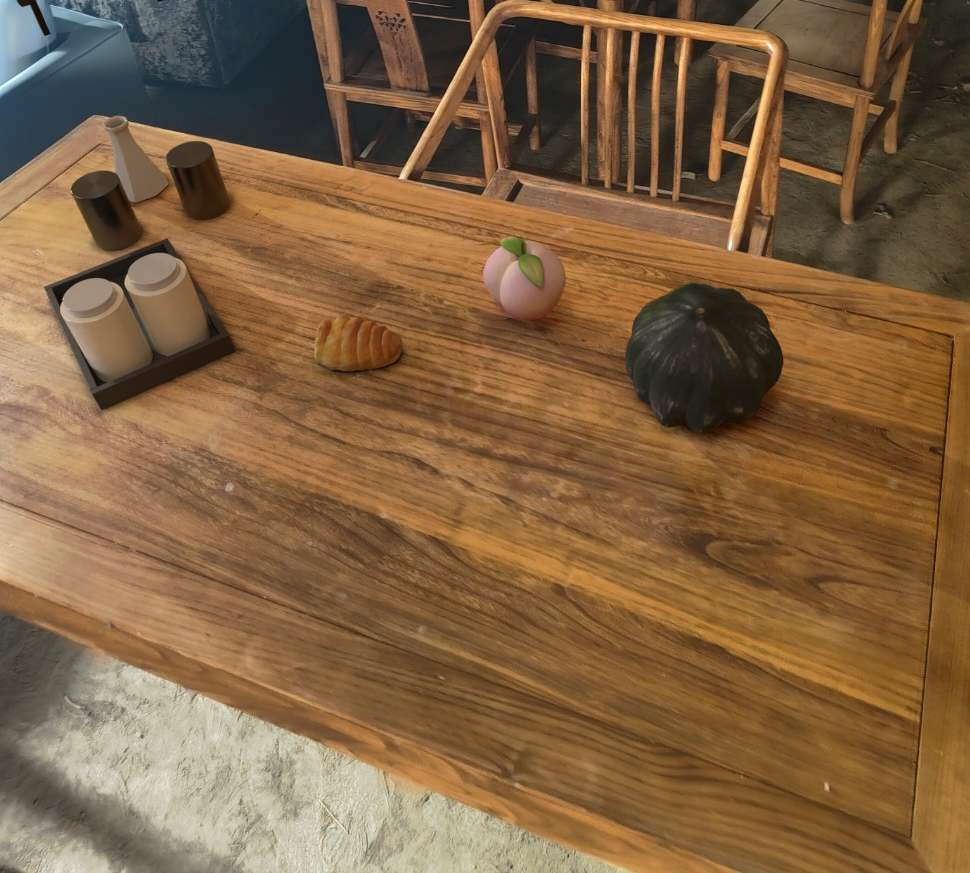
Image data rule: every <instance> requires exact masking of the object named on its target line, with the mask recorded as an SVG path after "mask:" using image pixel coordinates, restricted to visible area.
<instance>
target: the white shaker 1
mask: <svg viewBox="0 0 970 873" xmlns="http://www.w3.org/2000/svg"><path fill="white" fill-rule="evenodd" d="M60 312H61V315H62V317H63V319H64V320H65V322H66V324H67V326H68V327H69V329H70V331H71V333H72V335H73V336H74V338H75V340H76V342H77V343H78V345H79V347H80V349H81V350H82V352H83V354H84V356H85V358H86V359H87V361H88V363H89V365H90V366H91V368H92V370H93V372H94V373H95V375H96V377H97V378H98V379H100V380H102V381H104V382H107V383H108V382H110V381H113V380H115V379H117V378H119V377H122V376H124V375H126V374H129V373H131V372H133V371H136V370H138V369H140V368H143V367H145V366H147V365H149V364H151V362H152V359H153V352H152V350H151V348H150V346H149V343H148V341H147V339H146V337H145V335H144V333H143V331H142V329H141V327H140V325H139V323H138V321H137V319H136V317H135V315H134V313H133V310H132V308H131V306H130V304H129V302H128V300H127V298H126V296H125V294H124V292H123V290H122V288H121V287H120V286H119V285H117V284H115V283H113V282H109V281H108V280H106V279H102V278H92V279H87V280H84V281H81V282H79V283H77V284H75V285H73V286H72V287H71V288H70V289H69V290H68V291H67V292H66V293H65V295H64V297H63V302H62V304H61V307H60Z"/></svg>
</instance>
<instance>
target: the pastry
mask: <svg viewBox="0 0 970 873" xmlns="http://www.w3.org/2000/svg"><path fill="white" fill-rule="evenodd" d="M315 335H316V336H315V339H314V347H313V348H314V350H313V352H314V361H315V362H316V363H318V364H320V365H322V366H324V367H326V368H327V369H329V370H331V371H334V370H337V371H342V372H354V371H364V370H365V371H366V370H369V371H370V370H376V369H380V368H384V367H386V366H388V365H392V364H394V363H395V362H397V360H398V359H399V358H400V356H401V353H402V342H403V341H402V338H401V337H400V336H399V335H398V333H396V332H394V331H393V330H390V329H389V328H388V327H387V326H386V325H380V324H378V323H376V322H375V321H374V320H366V319H364V318H362V317H359V316H355V317H353V318H350V316H348V315H343V314H342V315H339V316H338V317H337V318H336V319H333V318H332V319H330V318H327V317H325V318H324V319H322V320H321V322H320V323H319V325H318V327H317V329H316V334H315Z"/></svg>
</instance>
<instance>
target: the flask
mask: <svg viewBox="0 0 970 873" xmlns="http://www.w3.org/2000/svg"><path fill="white" fill-rule="evenodd" d="M101 124H102V127H103V129H104V131H105V132H107V133H108V135H109V138H110V143H111V147H112V156H113V172H114V173H116V174H117V175H118V176H119V178H120V181H121V183H122V185H123V187H124V190H125V192H126V194H127V197H128V199H129V201H130V203H131V202H132V203H139V202H142V201H145V200H147V199H150V198H153V197H155V196H158V194H160V193H161V192H162V191H163V190H164V189H165V188H166V187H167V186H168V185H169V184H170V182H169V180H168V179H167V177H166V175H165V174H164V172H162V170H160V168H159V167H158V166H157V164H156V163H155V162H154V161H153V160H152V159H151V158H150V157H149V156H148V155H147V154H146V153H145V151H144V150H143V149H142V147H140V145H139V144H138V143H137V141H136V140H135V139H134V137H133V135H132V134H131V130H130V128H129V125H130V124H129V120H128V119H127V116H122V115H114V116H112V117H109V118H107V119H106V120H105V121H104V122H102V123H101Z"/></svg>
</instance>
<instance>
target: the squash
mask: <svg viewBox="0 0 970 873" xmlns="http://www.w3.org/2000/svg"><path fill="white" fill-rule="evenodd" d="M624 363H625V364H624V365H625V371H626V373H627V375H628V377H629V378H630V380H631V381H633V382H632V383H633V389H634V391H635V394H636V397H637V398H638V399H639V400H640V401H641V402H643V403H645V404H646V405H650V406H651V410H652V411H653V413H654V416H655V419H656V420H657V422H658V423H659V424H660V425H661V426H662V427H664V428H669V429H670V428H675V427H676V428H677V427H679V426H682V425H683V424H685V425H686V426H687V428H689V429H690V430H691V431H692V432H693V433H695V434H699V435H700V434H702V435H703V434H707V433H710V432H712V431H714V430H715V429H716V428H717V427H720V425H721V424H722V423H727V424H732V425H733V424H739V423H743V422H746V421H748V420H750V419H751V418H752V417H754V416H755V415H757V413H758V411H759V410H760V408H761V405H762V402H763V399H764V397H765V395H767V393H768V392H770V390H771V389H772V388H773V387H775V386H776V384H777V383H778V381H779V379H780V377H781V374H782V371H783V367H784V353H783V349H782V347H781V344H780V342H779V341H778V338H777V337H776V335H775V334H774V333H773V331H772V329H771V324H770V321H769V318H768V317H767V315H766V313H765V311H763V309H762V308H760V307H759V306H758V305H756V304H754V303H753V302H750V301H748V300H747V298H746V297H745V296H744V295H743V294H742V293H741V291H739V290H736V289H734V288H729V287H728V288H727V287H726V288H725V287H714V286H713V285H710V284H706V283H699V282H686V283H683V284H681V285H680V286H678V287H675V288H673V289H671V290H670V291H669V292H667V294H664V295H661V296H659V297H657V298H655V299H653V300H651V301H648V302H647V303H646V304H645V305H643V307H642V308H641V309H640V310H639V312H638V313H637V315H636V316H635V317H634V320H633V323H632V327H631V335H630V337H629V338H628V342H627V344H626V348H625V355H624Z"/></svg>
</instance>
